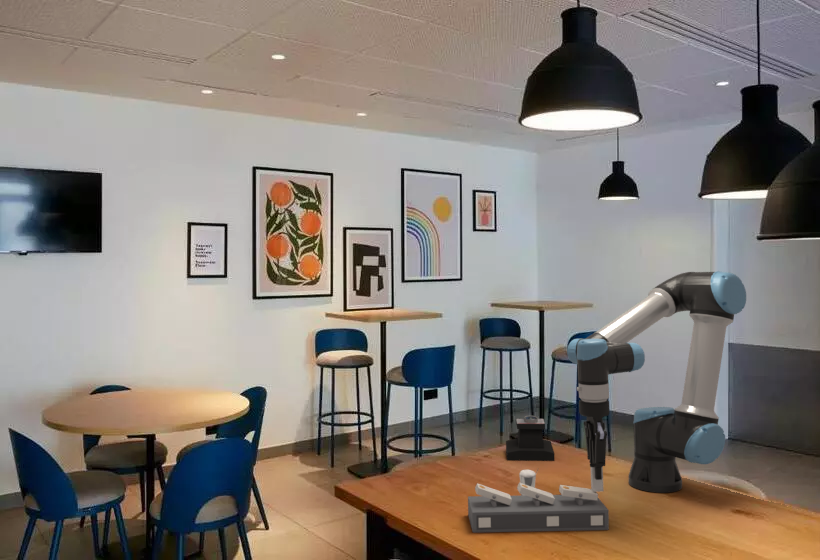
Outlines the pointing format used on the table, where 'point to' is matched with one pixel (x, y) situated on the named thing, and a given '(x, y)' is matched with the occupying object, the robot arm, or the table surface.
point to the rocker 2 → (578, 492)
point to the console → (537, 514)
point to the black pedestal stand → (529, 442)
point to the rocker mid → (535, 493)
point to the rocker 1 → (493, 494)
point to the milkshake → (528, 477)
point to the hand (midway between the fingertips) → (597, 490)
